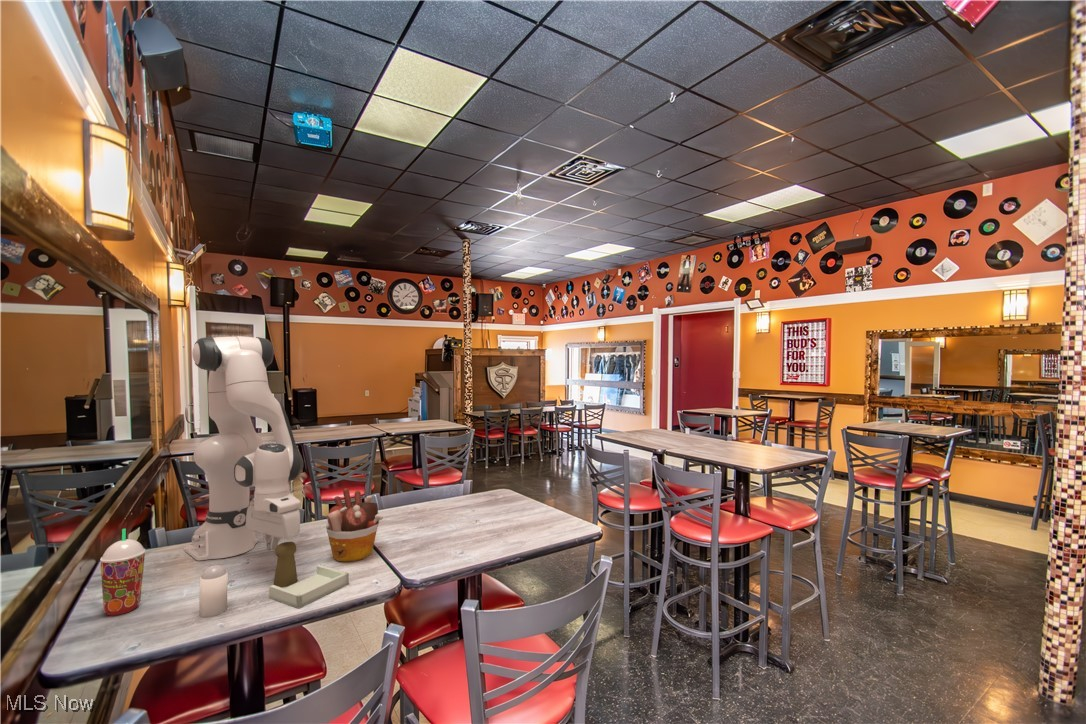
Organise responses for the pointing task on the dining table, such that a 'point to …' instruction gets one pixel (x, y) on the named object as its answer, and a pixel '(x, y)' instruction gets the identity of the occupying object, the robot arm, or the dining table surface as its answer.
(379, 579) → the dining table surface
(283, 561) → the brown chess pawn
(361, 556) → the bucket of meat
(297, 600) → the tray
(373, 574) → the dining table surface
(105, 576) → the smoothie
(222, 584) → the salt shaker
